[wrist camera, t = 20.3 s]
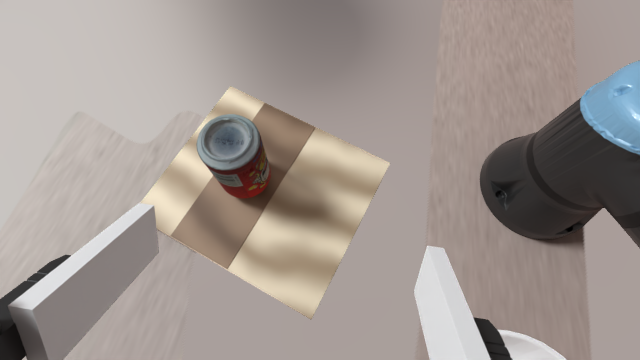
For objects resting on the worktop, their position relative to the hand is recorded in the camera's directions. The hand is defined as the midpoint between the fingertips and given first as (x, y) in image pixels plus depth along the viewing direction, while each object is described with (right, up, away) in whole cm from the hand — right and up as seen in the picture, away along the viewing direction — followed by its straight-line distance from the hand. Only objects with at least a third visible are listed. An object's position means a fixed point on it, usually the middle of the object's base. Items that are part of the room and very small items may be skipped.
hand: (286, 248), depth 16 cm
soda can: (-9, +3, +31) cm, 33 cm away
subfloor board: (-6, +2, +32) cm, 33 cm away
